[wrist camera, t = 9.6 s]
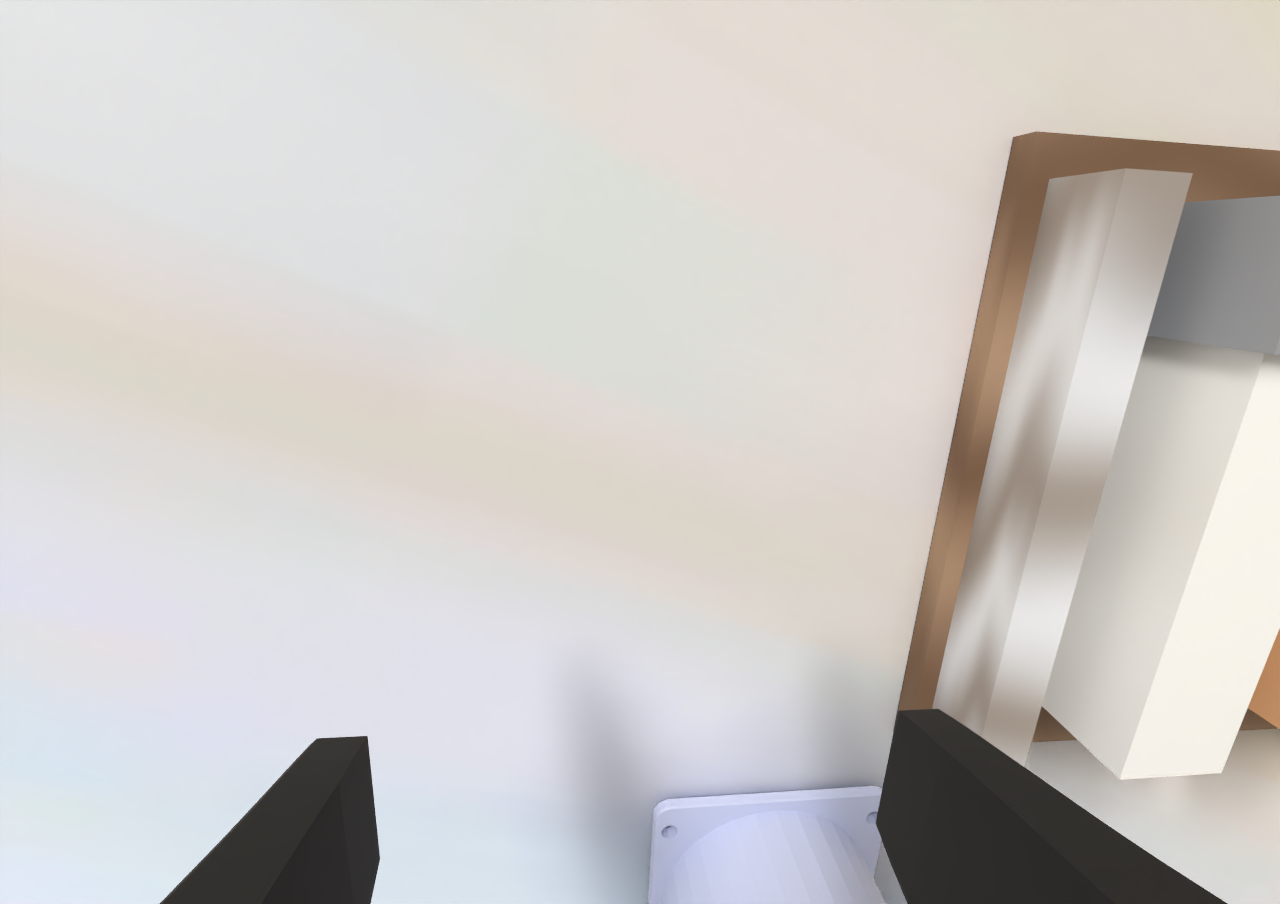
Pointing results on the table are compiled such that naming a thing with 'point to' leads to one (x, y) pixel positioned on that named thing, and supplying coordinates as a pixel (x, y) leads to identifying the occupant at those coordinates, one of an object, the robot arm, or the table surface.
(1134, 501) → the capped white pillar
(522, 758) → the table surface
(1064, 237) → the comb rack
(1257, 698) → the capped square column
